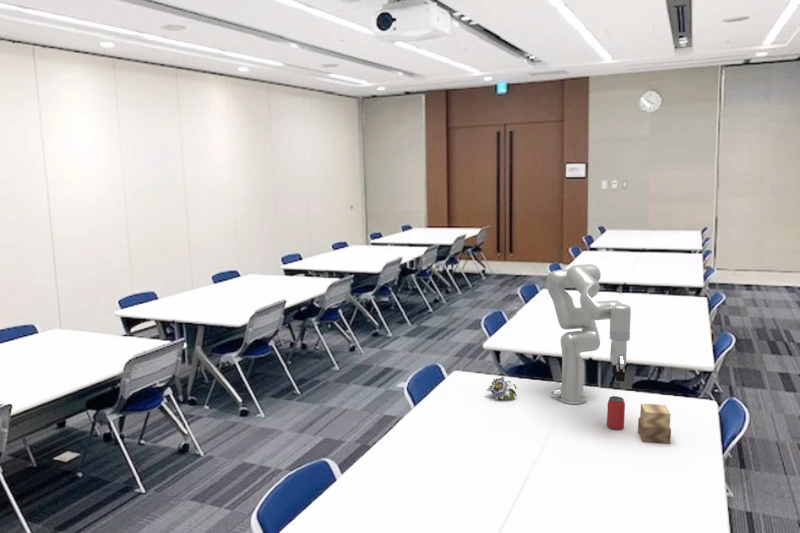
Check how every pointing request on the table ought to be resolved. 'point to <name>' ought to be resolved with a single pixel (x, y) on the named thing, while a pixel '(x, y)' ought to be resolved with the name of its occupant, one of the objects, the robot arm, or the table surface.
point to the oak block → (655, 416)
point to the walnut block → (653, 434)
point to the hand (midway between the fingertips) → (618, 377)
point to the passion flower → (501, 388)
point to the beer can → (615, 413)
